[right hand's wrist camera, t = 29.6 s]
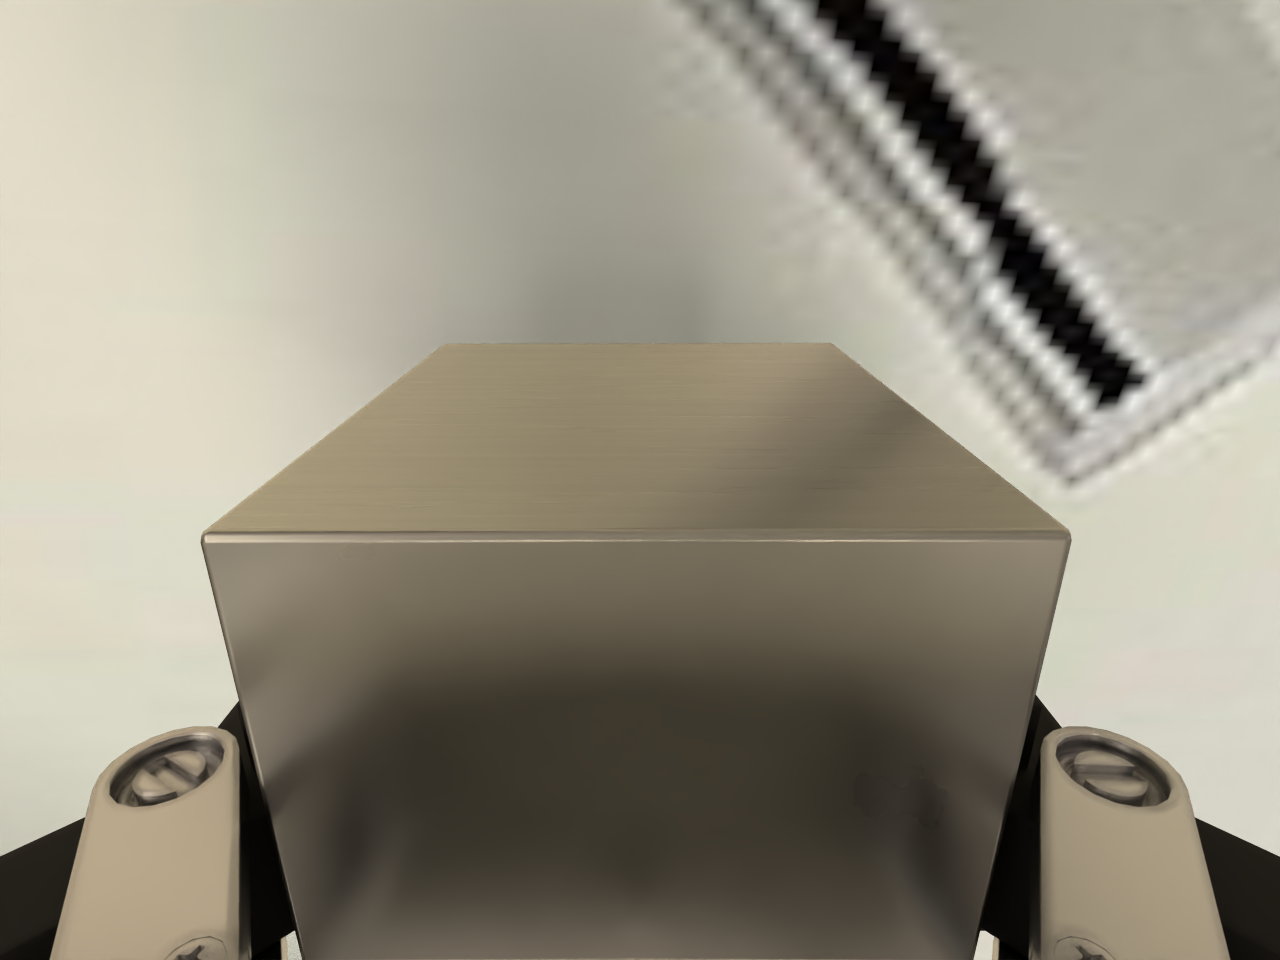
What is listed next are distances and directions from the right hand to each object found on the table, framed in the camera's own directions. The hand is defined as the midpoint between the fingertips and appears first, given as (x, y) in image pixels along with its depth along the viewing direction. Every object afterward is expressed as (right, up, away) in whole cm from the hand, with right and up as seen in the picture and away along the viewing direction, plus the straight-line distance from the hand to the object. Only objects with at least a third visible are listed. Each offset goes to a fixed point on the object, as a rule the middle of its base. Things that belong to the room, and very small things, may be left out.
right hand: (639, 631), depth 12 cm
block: (0, +1, +3) cm, 3 cm away
